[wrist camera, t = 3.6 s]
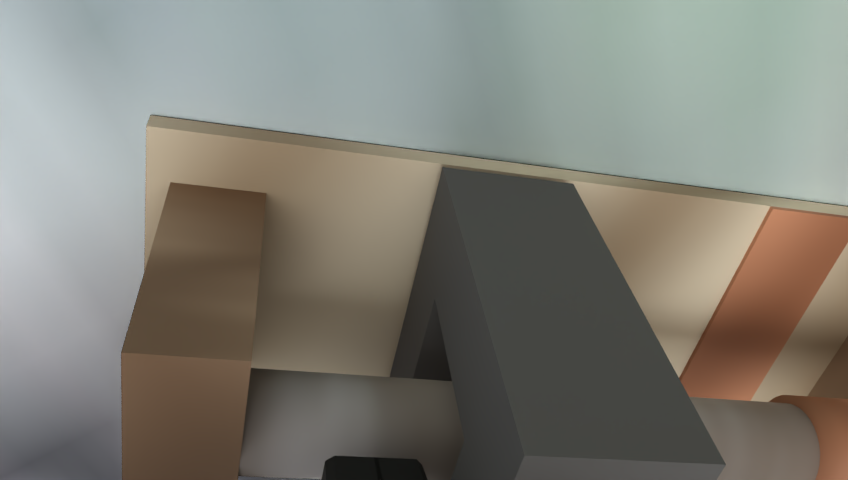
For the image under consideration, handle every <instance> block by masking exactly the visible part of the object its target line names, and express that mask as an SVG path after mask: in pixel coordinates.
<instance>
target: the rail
mask: <svg viewBox="0 0 848 480" xmlns="http://www.w3.org/2000/svg"><path fill="white" fill-rule="evenodd" d="M442 167H446V168H454V169H462V170H470V171H478V172H486V173H493V174H501V175H509V176H517V177H525V178H533V179H540V180H548V181H556V182H564V183H572V184H574V186H575V188H576V190H577V192H578V194H579V195H580V197H581V199H582V201H583V203H584V205H585V206H586V208H587V210H588V212H589V214H590V216H591V217H592V219H593V221H594V223H595V225H596V227H597V228H598V230H599V232H600V234H601V236H602V238H603V239H604V241H605V243H606V245H607V247H608V249H609V250H610V252H611V254H612V256H613V258H614V260H615V262H616V263H617V265H618V267H619V269H620V271H621V273H622V274H623V276H624V278H625V280H626V282H627V284H628V285H629V287H630V289H631V291H632V293H633V295H634V296H635V298H636V300H637V302H638V304H639V306H640V307H641V309H642V311H643V313H644V315H645V317H646V318H647V320H648V322H649V324H650V326H651V328H652V330H653V331H654V333H655V335H656V337H657V339H658V341H659V342H660V344H661V346H662V348H663V350H664V352H665V353H666V355H667V357H668V359H669V361H670V363H671V364H672V366H673V368H674V370H675V372H676V374H677V375H678V377H679V379H680V381H681V383H682V385H683V386H684V388H685V390H686V392H687V394H688V396H689V398H690V399H691V401H692V403H693V405H694V407H695V409H696V410H697V412H698V414H699V416H700V418H701V420H702V421H703V423H704V425H705V427H706V429H707V431H708V432H709V434H710V436H711V438H712V440H713V442H714V443H715V445H716V447H717V449H718V451H719V453H720V454H721V456H722V458H723V460H724V462H725V464H726V466H725V467H724V469H723V470H722V472H721V474H720V475H719V477H718V478H717V480H848V207H846V206H838V205H831V204H823V203H815V202H808V201H800V200H793V199H785V198H777V197H770V196H762V195H755V194H747V193H739V192H732V191H724V190H716V189H709V188H701V187H694V186H686V185H678V184H671V183H663V182H656V181H648V180H640V179H633V178H625V177H618V176H610V175H602V174H595V173H587V172H579V171H572V170H564V169H557V168H549V167H541V166H534V165H526V164H519V163H511V162H503V161H496V160H488V159H480V158H473V157H465V156H458V155H450V154H442V153H435V152H427V151H420V150H412V149H404V148H397V147H389V146H382V145H374V144H366V143H359V142H351V141H343V140H336V139H328V138H321V137H313V136H305V135H298V134H290V133H283V132H275V131H267V130H260V129H252V128H244V127H237V126H229V125H222V124H214V123H206V122H199V121H191V120H184V119H176V118H168V117H161V116H153V115H150V118H149V121H148V123H147V126H146V194H145V266H144V276H143V279H142V282H141V286H140V289H139V293H138V296H137V300H136V303H135V307H134V310H133V314H132V317H131V321H130V324H129V327H128V331H127V334H126V338H125V341H124V345H123V348H122V352H121V389H122V480H238V476H249V477H277V478H304V479H322V474H323V469H324V464H325V461H326V460H328V459H329V458H331V457H333V456H357V457H380V458H403V459H417V460H418V461H419V462H420V463H421V464H422V466H423V468H424V471H425V474H426V477H427V479H428V480H451V477H452V475H453V472H454V469H455V466H456V463H457V460H458V457H459V454H460V451H461V449H462V446H463V443H464V436H463V431H462V426H461V421H460V417H459V412H458V407H457V402H456V397H455V393H454V388H453V383H452V381H441V380H426V379H411V378H396V377H390V373H391V369H392V365H393V361H394V357H395V353H396V349H397V346H398V342H399V338H400V334H401V330H402V326H403V322H404V318H405V314H406V310H407V306H408V302H409V298H410V294H411V290H412V286H413V282H414V278H415V274H416V270H417V266H418V262H419V258H420V254H421V250H422V246H423V243H424V239H425V235H426V231H427V227H428V223H429V219H430V215H431V211H432V207H433V203H434V199H435V195H436V191H437V187H438V183H439V179H440V175H441V171H442Z"/></svg>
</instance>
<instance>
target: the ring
mask: <svg viewBox="0 0 848 480" xmlns="http://www.w3.org/2000/svg"><path fill="white" fill-rule="evenodd" d="M390 377H396V378H411V379H426V380H441V381H452V383H453V388H454V393H455V397H456V402H457V407H458V412H459V417H460V421H461V426H462V431H463V436H464V443H463V446H462V449H461V451H460V454H459V457H458V460H457V463H456V466H455V469H454V472H453V475H452V477H451V480H717V478H718V477H719V475H720V474H721V472H722V470H723V469H724V467H725V466H726V464H725V462H724V460H723V458H722V456H721V454H720V453H719V451H718V449H717V447H716V445H715V443H714V442H713V440H712V438H711V436H710V434H709V432H708V431H707V429H706V427H705V425H704V423H703V421H702V420H701V418H700V416H699V414H698V412H697V410H696V409H695V407H694V405H693V403H692V401H691V399H690V398H689V396H688V394H687V392H686V390H685V388H684V386H683V385H682V383H681V381H680V379H679V377H678V375H677V374H676V372H675V370H674V368H673V366H672V364H671V363H670V361H669V359H668V357H667V355H666V353H665V352H664V350H663V348H662V346H661V344H660V342H659V341H658V339H657V337H656V335H655V333H654V331H653V330H652V328H651V326H650V324H649V322H648V320H647V318H646V317H645V315H644V313H643V311H642V309H641V307H640V306H639V304H638V302H637V300H636V298H635V296H634V295H633V293H632V291H631V289H630V287H629V285H628V284H627V282H626V280H625V278H624V276H623V274H622V273H621V271H620V269H619V267H618V265H617V263H616V262H615V260H614V258H613V256H612V254H611V252H610V250H609V249H608V247H607V245H606V243H605V241H604V239H603V238H602V236H601V234H600V232H599V230H598V228H597V227H596V225H595V223H594V221H593V219H592V217H591V216H590V214H589V212H588V210H587V208H586V206H585V205H584V203H583V201H582V199H581V197H580V195H579V194H578V192H577V190H576V188H575V186H574V184H572V183H564V182H556V181H548V180H540V179H533V178H525V177H517V176H509V175H501V174H493V173H486V172H478V171H470V170H462V169H454V168H446V167H442V171H441V175H440V179H439V183H438V187H437V191H436V195H435V199H434V203H433V207H432V211H431V215H430V219H429V223H428V227H427V231H426V235H425V239H424V243H423V246H422V250H421V254H420V258H419V262H418V266H417V270H416V274H415V278H414V282H413V286H412V290H411V294H410V298H409V302H408V306H407V310H406V314H405V318H404V322H403V326H402V330H401V334H400V338H399V342H398V346H397V349H396V353H395V357H394V361H393V365H392V369H391V373H390Z"/></svg>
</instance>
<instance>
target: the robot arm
mask: <svg viewBox="0 0 848 480" xmlns="http://www.w3.org/2000/svg"><path fill="white" fill-rule="evenodd" d="M321 480H428V479H427V477H426V474H425V471H424V468H423V466H422V464H421V463H420V462H419V461H418V460H417V459H403V458H380V457H357V456H333V457H331V458H329V459H328V460H326V461H325V464H324V469H323V474H322V479H321Z"/></svg>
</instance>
